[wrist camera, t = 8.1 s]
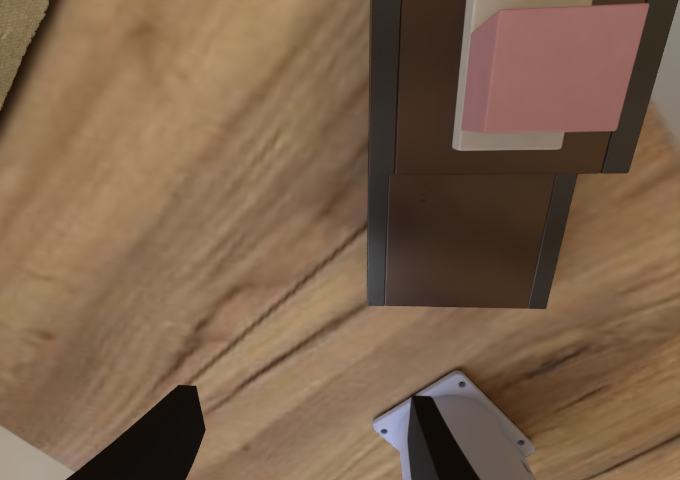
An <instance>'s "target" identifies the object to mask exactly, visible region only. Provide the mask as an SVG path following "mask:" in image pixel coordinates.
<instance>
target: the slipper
mask: <svg viewBox="0 0 680 480" xmlns="http://www.w3.org/2000/svg"><path fill="white" fill-rule="evenodd" d="M591 5H592V0H466V10H465V20H464V30H463V41H462V51H461V61H460V71H459V82H458V92H457V102H456V112H455V123H454V133H453V143H452V147H453V148H454V149H456V150H459V151H483V150H557V149H560V148H561V147H562V142H563V138H564V133H565V132H594V131H615V130H616V129H617V126H618V123H619V119H620V115H621V111H622V108H623V104H624V100H625V96H626V92H627V89H628V85H629V81H630V77H631V73H632V70H633V66H634V62H635V58H636V54H637V51H638V47H639V43H640V39H641V35H642V32H643V28H644V24H645V20H646V16H647V13H648V9H649V4H648V3H638V4H615V5H592V6H591Z"/></svg>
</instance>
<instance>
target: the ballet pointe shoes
mask: <svg viewBox="0 0 680 480" xmlns="http://www.w3.org/2000/svg"><path fill="white" fill-rule="evenodd" d="M46 4H47V5H49V1H48V0H0V110H2V109H1V107H3V106H2V105H3V102H4V101H5V98H4V97H6V96H7V92H6V91H8V90H10V88H11V85H12V83H13V78H15V75H16V72H17V71H18V68H17V67H19V66H20V63H21V60H22V58H21V56H22V55H25V52H26V50H27V49H26V48H25V47H26V46H29V45H28V44H29V43H31V41H32V40H31V39H30V36H32V38H33V35H35V32H34V30H37V28H39V23H38V22H41V21H40V20H42V19H43V17H44V16H45V15H46V14H45V13H44V10H45V11H47V5H46Z"/></svg>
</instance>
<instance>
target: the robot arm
mask: <svg viewBox="0 0 680 480" xmlns="http://www.w3.org/2000/svg"><path fill="white" fill-rule="evenodd" d="M460 382H463V383H460ZM373 429H374V430H375V431H376V432H377V433H379V434H380V435H381V436H382V437H383V438H384V439H385V440H387V441H388V442H389V443H390V444H391V445H392V446H394V447H395V448H396V449H397V450H398V451H399V452H400V458H401V467H402V477H403V480H536V479H535V477H534V475H533V473H532V471H531V469H530V467H529V465H528V462H527V460H526V458H525V457H527V456H529V455H531V454H533V453H534V452H535V447H534V445H533V443H532V442H531V441H530V440H529V439H528V438H527V437H526V436H525V435H524V434H523V433H522V432H521V431H520V430H519V429H518V428H517V427H516V426H515V425H514V424H513V423H512V422H511V421H510V420H509V419H508V418H507V417H506V416H505V415H504V414H503V413H502V412H501V411H500V410H499V409H498V408H497V407H496V406H495V405H494V404H493V403H492V402H491V401H490V400H489V399H488V398H487V397H486V396H485V395H484V394H483V393H482V392H481V391H480V390H479V389H478V388H477V387H476V386H475V385H474V384H473V382H472V381H471V380H470V379H469V378H468V377H467V376H466V375H465V374H464V373H463V372H461V371H453V372H451V373H450V374H448V375H446V376H445V377H443V378H442V379H440V380H438V381H437V382H435V383H434V384H432V385H430V386H429V387H427V388H425V389H424V390H422V391H421V392H419V393H417V394H416V395H411V398H409V399H408V400H406V401H404V402H403V403H401V404H399V405H398V406H396V407H395V408H393V409H391V410H390V411H388V412H387V413H385V414H383V415H382V416H380V417H378V418H377V419H375V420H374V421H373ZM205 430H206V429H205V425H204V420H203V415H202V411H201V406H200V402H199V397H198V392H197V388H196V386H189V385H178V386H177V387H176V388H175V389H174V390H172V391H171V392H170V393H169V394H168V395H167V396H165V397H164V398H163V399H162V400H161V401H160V402H159V403H158V404H156V405H155V406H154V407H153V408H152V409H151V410H150V411H148V412H147V413H146V414H145V415H144V416H143V417H142V418H140V419H139V420H138V421H137V422H136V423H135V424H134V425H132V426H131V427H130V428H129V429H128V430H127V431H125V432H124V433H123V434H122V435H121V436H120V437H118V438H117V439H116V440H115V441H114V442H113V443H111V444H110V445H109V446H108V447H106V448H105V449H104V450H103V451H101V452H100V453H99V454H98V455H96V456H95V457H94V458H93V459H91V460H90V461H89V462H88V463H86V464H85V465H84V466H83V467H82V468H80V469H79V470H78V471H77V472H75V473H74V474H73V475H71V476H70V477H69V478H67V479H66V480H185V479H186V477H187V475H188V473H189V471H190V469H191V467H192V465H193V463H194V460H195V457H196V455H197V452H198V450H199V447H200V444H201V441H202V439H203V436H204V433H205Z"/></svg>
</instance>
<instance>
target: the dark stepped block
mask: <svg viewBox="0 0 680 480" xmlns="http://www.w3.org/2000/svg"><path fill="white" fill-rule="evenodd" d="M638 3H648V4H649V9H648V13H647V16H646V20H645V24H644V28H643V32H642V35H641V39H640V43H639V47H638V51H637V54H636V58H635V62H634V66H633V70H632V73H631V77H630V81H629V85H628V89H627V92H626V96H625V100H624V104H623V108H622V111H621V115H620V119H619V123H618V126H617V129H616V130H615V131H594V132H565V133H564V138H563V142H562V147H561V148H560V149H557V150H483V151H459V150H456V149H454V148H453V147H452V143H453V133H454V123H455V112H456V102H457V92H458V82H459V71H460V61H461V51H462V41H463V30H464V20H465V10H466V0H370V40H369V134H368V227H367V305H373V306H384V305H385V306H429V307H479V308H528V309H546V307H547V303H548V298H549V294H550V290H551V286H552V281H553V277H554V273H555V269H556V264H557V260H558V256H559V252H560V247H561V243H562V239H563V234H564V230H565V226H566V222H567V217H568V213H569V209H570V205H571V200H572V196H573V192H574V188H575V183H576V179H577V175H578V174H596V173H602V174H611V173H628V172H629V170H630V166H631V163H632V159H633V156H634V152H635V149H636V145H637V142H638V138H639V135H640V131H641V128H642V125H643V121H644V118H645V114H646V111H647V107H648V104H649V100H650V97H651V93H652V90H653V86H654V83H655V79H656V76H657V73H658V69H659V66H660V62H661V59H662V55H663V52H664V48H665V45H666V41H667V38H668V34H669V31H670V27H671V24H672V21H673V17H674V13H675V10H676V7H677V3H678V0H592V5H615V4H638ZM592 5H591V6H592Z"/></svg>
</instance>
